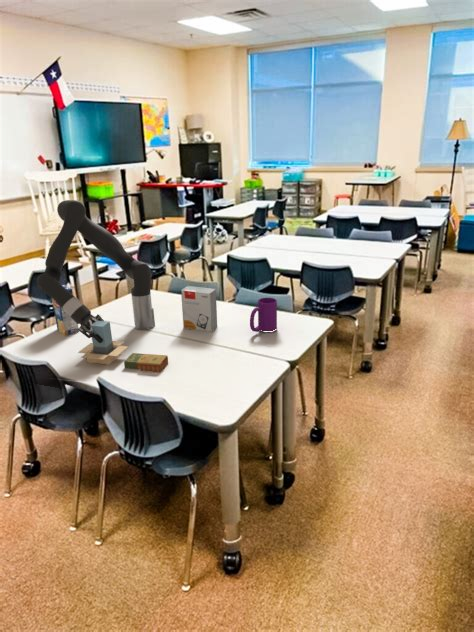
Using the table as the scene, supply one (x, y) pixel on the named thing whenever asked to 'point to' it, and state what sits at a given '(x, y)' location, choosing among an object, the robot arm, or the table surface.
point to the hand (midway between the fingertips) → (105, 338)
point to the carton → (146, 362)
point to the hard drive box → (199, 308)
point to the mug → (265, 315)
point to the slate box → (105, 333)
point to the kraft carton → (103, 358)
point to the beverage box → (64, 318)
